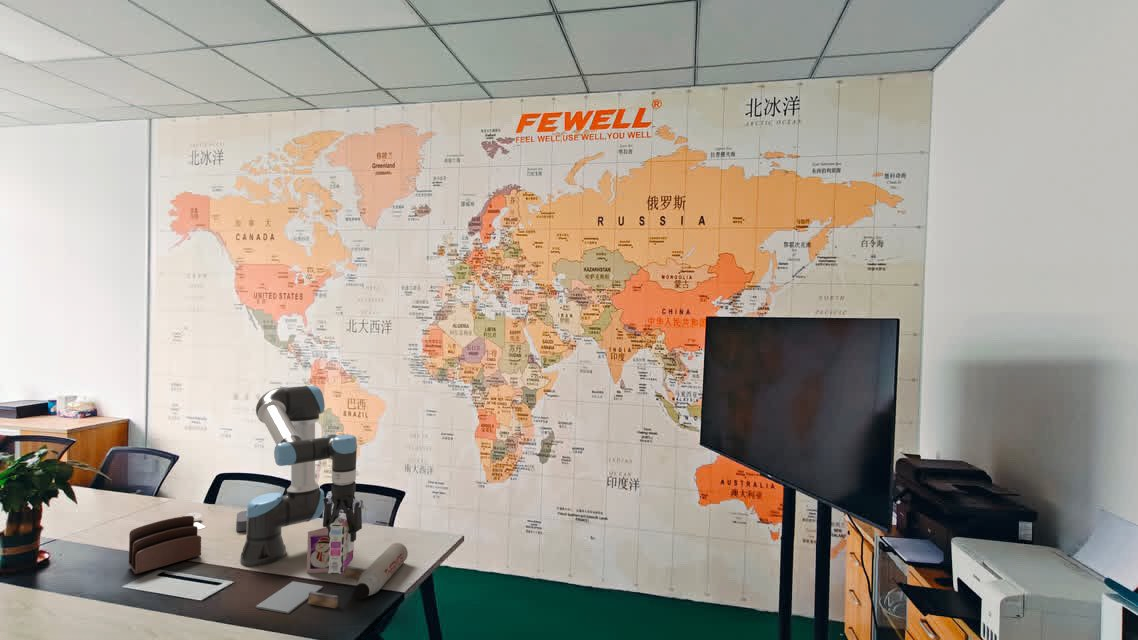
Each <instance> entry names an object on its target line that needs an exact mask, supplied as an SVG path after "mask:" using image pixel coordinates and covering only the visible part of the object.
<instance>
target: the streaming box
mask: <svg viewBox="0 0 1138 640" xmlns="http://www.w3.org/2000/svg"><path fill="white" fill-rule="evenodd" d="M246 514H247V510H243V511H239V512H237V513H236V520H235V522H236V524H235V526H236V527H235V531H236V532H245V531H246V532H247V516H246Z"/></svg>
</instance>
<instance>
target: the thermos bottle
mask: <svg viewBox="0 0 1138 640" xmlns="http://www.w3.org/2000/svg"><path fill="white" fill-rule="evenodd" d="M408 552H409V551H408V548H407V547H406V546H405V545H404V544H403V543H401V542H393V543H391V544H390V545H389V546H388V547H387V548H386V549H385V550H384V551H383V552H382V553H381V555H379V556H378V557H377V558H376V559H375V560H374V562H372V563H371V564H369V565H370V566H368V567H367V568H365V569H366V570H365V571H364V572H363V573H362V574H361V576H360V578H359V579H358V581H357V584H356V585H355V587H354V595H355V597H356V598H357V599H360V600H365V599H366V598H367V597H369V596H372V595H375V594H376V593H378V592H380V590H381V589H382V587H383V586H384V585H385V584H386V583H387V581H388V580H389V579H390V578H391V577H392V576H393V574H394V573H396V571H398V569H399V568H400V567H401V566H402V565H403V564H404V562H405V561H406V560H407V558H408V556H409V553H408Z"/></svg>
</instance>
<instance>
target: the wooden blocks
mask: <svg viewBox="0 0 1138 640" xmlns="http://www.w3.org/2000/svg"><path fill="white" fill-rule="evenodd" d="M366 569H367V568H363V567H355V566H350V565H348V566H347V568H346V569H345V570H344V572H343V577H344V578H350V579H351V578H352V579H357V580H359V578H360V576H361V574H362V573H363V572H364V571H365V570H366ZM307 600H308V602H307V604H308V605H313V606H319V607H324V608H325V607H326V608H330V609H331V608H332V609H337V607H338V606H339V604H338V603H339V596H338V595H333V594H328V593H321V592H309V595H308V599H307Z"/></svg>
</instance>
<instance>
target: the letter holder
mask: <svg viewBox="0 0 1138 640" xmlns="http://www.w3.org/2000/svg"><path fill="white" fill-rule="evenodd" d="M194 522H195V519H194V517H193V516H188V515H182V516H177V517H171V518H167V519H163V520H159V521H154V522H152V523H147V524H144V525H142V526H138V527H136V528H133V529H132V530H131V531H130V532H129V535H128V536H129V541H128V542H129V545H128V566H129V568H130V569H131V570H132V572H133V573H134V574H135V575H137V574H142V573H144V572H149V571H151V570H155V569H159V568H162V567H165V566H169V565H173V564H176V563H179V562H182V561H186V560H189V559H193V558H197V557H200V556H201V555H202V536H200V535H198V530H199V529H198V528H197V526H194Z"/></svg>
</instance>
